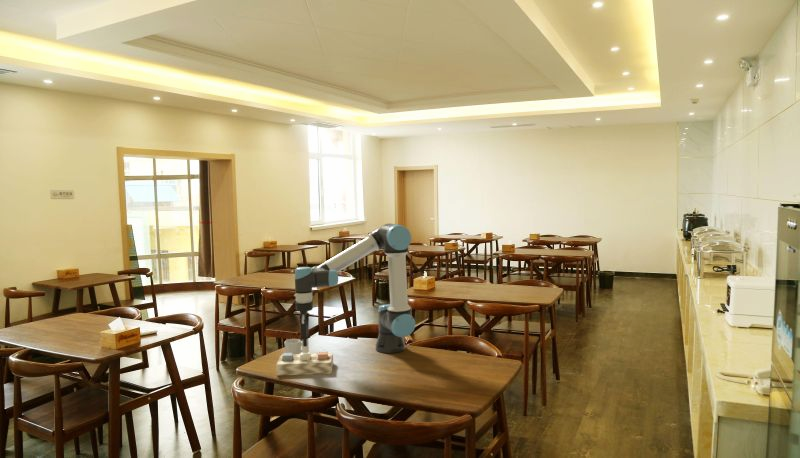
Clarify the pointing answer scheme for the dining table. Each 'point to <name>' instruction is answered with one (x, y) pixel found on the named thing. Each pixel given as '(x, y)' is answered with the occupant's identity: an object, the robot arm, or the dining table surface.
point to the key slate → (287, 357)
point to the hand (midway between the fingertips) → (305, 352)
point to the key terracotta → (322, 355)
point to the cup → (293, 346)
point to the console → (304, 365)
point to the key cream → (305, 356)
